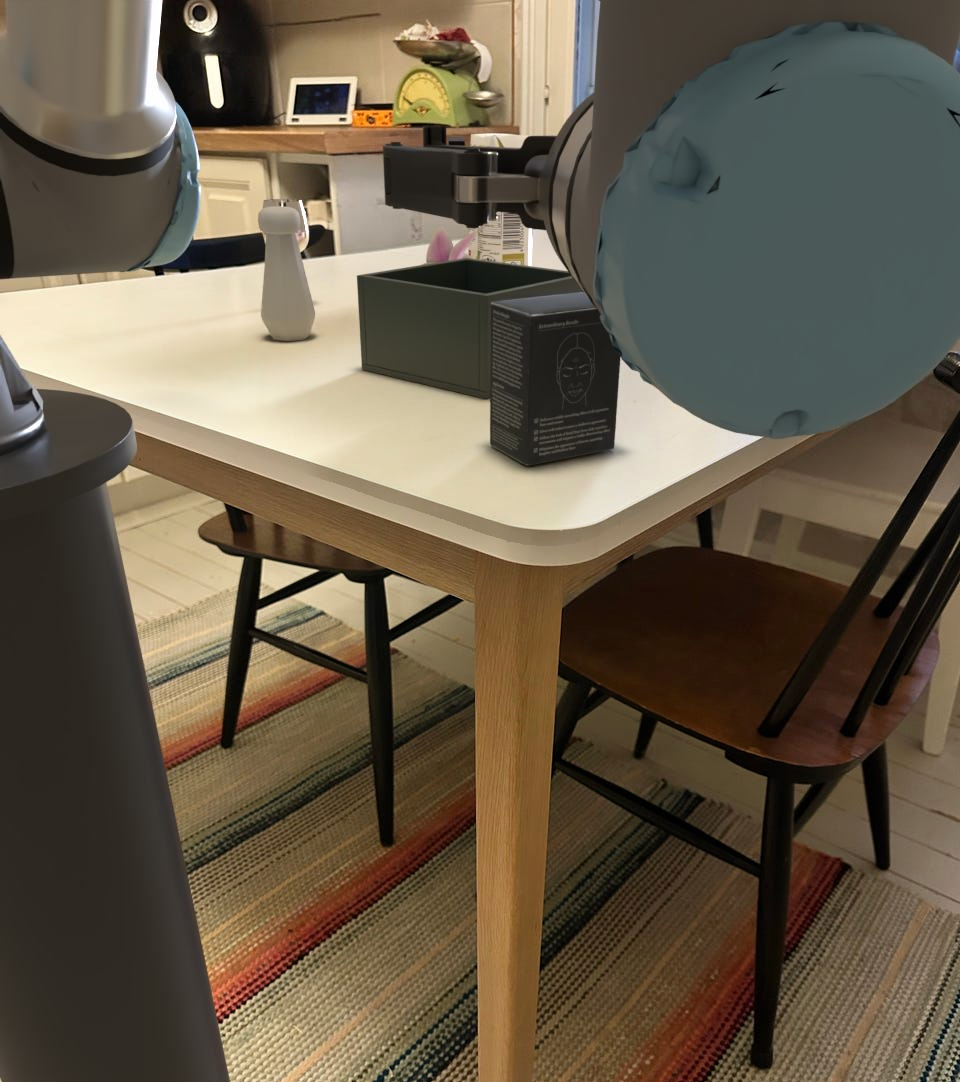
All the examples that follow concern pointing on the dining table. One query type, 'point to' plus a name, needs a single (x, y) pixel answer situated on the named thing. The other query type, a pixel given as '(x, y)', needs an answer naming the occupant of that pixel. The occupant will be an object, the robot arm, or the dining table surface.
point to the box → (551, 379)
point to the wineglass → (298, 205)
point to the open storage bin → (443, 318)
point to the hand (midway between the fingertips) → (584, 167)
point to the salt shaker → (284, 277)
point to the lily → (447, 247)
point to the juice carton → (501, 219)
